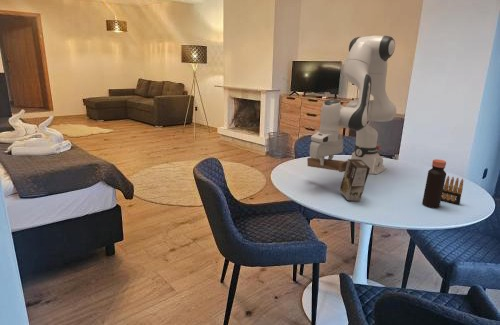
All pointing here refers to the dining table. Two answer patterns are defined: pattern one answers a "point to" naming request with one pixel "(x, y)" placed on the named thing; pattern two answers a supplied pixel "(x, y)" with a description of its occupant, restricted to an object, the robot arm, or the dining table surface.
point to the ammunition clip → (448, 191)
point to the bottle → (434, 184)
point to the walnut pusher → (327, 164)
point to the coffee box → (354, 179)
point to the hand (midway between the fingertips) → (325, 164)
